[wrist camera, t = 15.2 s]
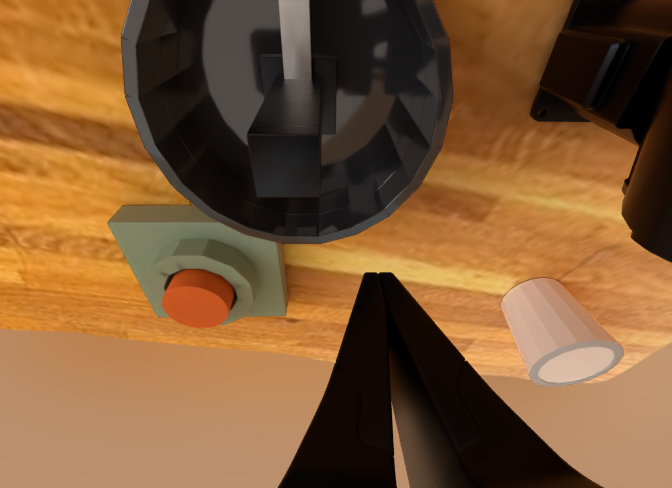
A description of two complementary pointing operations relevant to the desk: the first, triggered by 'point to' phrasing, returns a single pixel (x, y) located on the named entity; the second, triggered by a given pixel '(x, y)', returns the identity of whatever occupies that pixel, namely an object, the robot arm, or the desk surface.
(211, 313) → the button
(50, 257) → the desk surface
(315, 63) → the dark blocky piece
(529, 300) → the shot glass
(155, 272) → the control block
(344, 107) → the bowl
